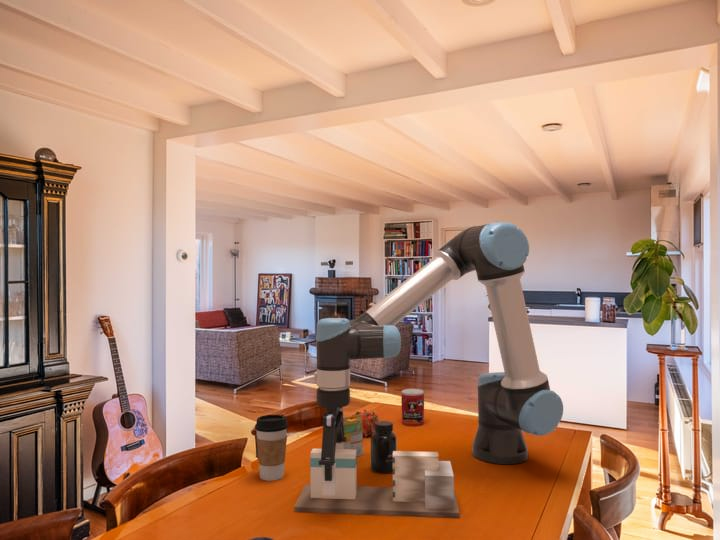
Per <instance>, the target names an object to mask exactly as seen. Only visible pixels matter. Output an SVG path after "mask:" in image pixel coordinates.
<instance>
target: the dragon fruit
mask: <svg viewBox="0 0 720 540" xmlns="http://www.w3.org/2000/svg"><path fill="white" fill-rule="evenodd" d="M359 414H362V430H363V436H364V437H365V438H367V437H368V436H371V435H372V433H373V432H375V430H374V428H375V422H378V421H379V416H378V415H377V414H376V413H375V412H374V411H369V412H368V411H367V410H366V409H363V411H356V412H355V414H352V415H351V416H354V415H359ZM353 419H357V418H350V419H349V420H353Z"/></svg>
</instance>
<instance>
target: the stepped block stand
mask: <svg viewBox="0 0 720 540" xmlns="http://www.w3.org/2000/svg"><path fill="white" fill-rule="evenodd" d="M454 479H455V476H454V471H453V467H452V463H451V460H439V452H438V451H413V450H412V451H410V450H397V451H393V472H392V486H390V487H389V486H367V485H366V486H364V485H363V486H359V485H357V495H356V499H355V500H354V499H325V498H311V484H304V486H303V489H302V490H301V493H300V495H299V496H298V499H297V500H296V503H295V505H294V506H293V512H295V511H296V512H295V513H317V514H319V513H320V514H347V515H371V516H372V515H373V516H401V517H402V516H404V517H424V518H425V517H427V518H428V517H430V518H451V519H452V518H453V519H454V518H455V519H457V518H458V519H459V518H460V517H461V516H460V508H459V505H458V500H457V496H456V492H455V482H454V481H455V480H454Z"/></svg>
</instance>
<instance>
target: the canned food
mask: <svg viewBox="0 0 720 540" xmlns="http://www.w3.org/2000/svg"><path fill="white" fill-rule="evenodd" d="M400 397H401V398H400V399H401V422H402V424H403V425H404V426H407V427H421V426H423V425H424V422H425V391H424V390H422V389H418V388H406V389H403V390H401V396H400Z"/></svg>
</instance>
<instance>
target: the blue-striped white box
mask: <svg viewBox="0 0 720 540" xmlns="http://www.w3.org/2000/svg"><path fill="white" fill-rule="evenodd" d="M321 452H322V448H312V449H311V451H310V461H309V462H310V463H309V466H310V485H311V498H325V499H354V500H355V499H356V495H357V486H358V485H357V478H358V477H357V465H358V462H357V461H358V459H357V458H358V456H357V454H356V450H354V449H336V450H335V463H336V495H323V487H322V465H319V461H321ZM326 459H330V458H326Z"/></svg>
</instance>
